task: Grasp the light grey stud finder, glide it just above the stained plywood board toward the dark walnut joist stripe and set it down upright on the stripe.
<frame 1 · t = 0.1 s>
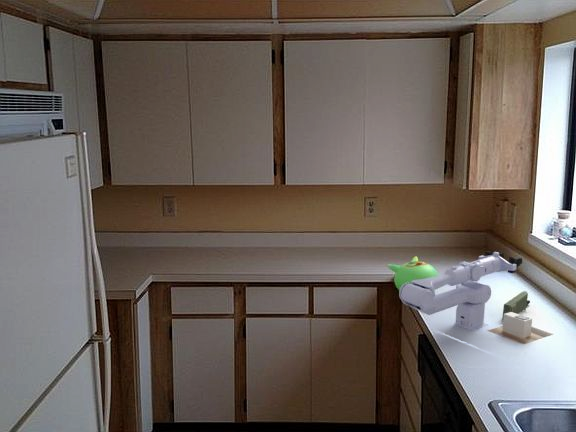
hand: (512, 258, 215), 22 cm above the worktop, tool horizontal, fingers open, 7 cm apart
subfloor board: (519, 334, 201), on the worktop
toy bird: (414, 295, 242), on the worktop
stud finder: (516, 333, 199), point 1 cm above the worktop, touching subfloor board
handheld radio: (517, 313, 222), on the worktop
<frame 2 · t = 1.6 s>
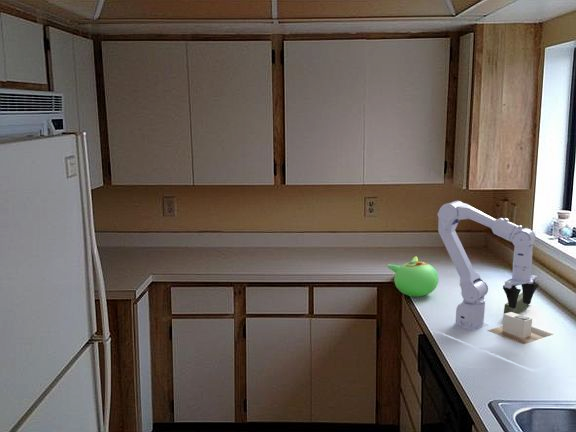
hand: (519, 305, 198), 10 cm above the worktop, tool pointing down, fingers open, 7 cm apart
nothing on the worktop moved.
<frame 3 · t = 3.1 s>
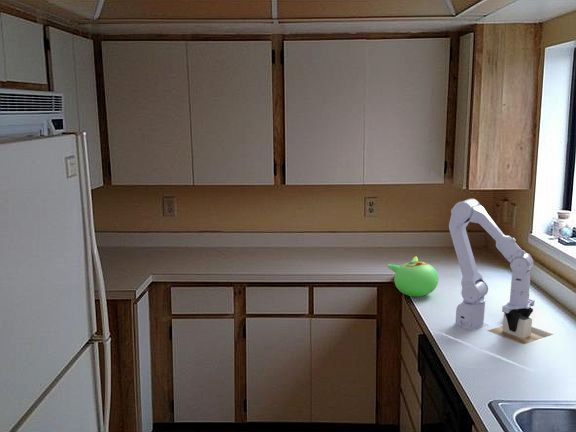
hand: (516, 329, 199), 2 cm above the worktop, tool pointing down, fingers closed on stud finder, 4 cm apart
stud finder: (516, 333, 199), point 1 cm above the worktop, touching gripper, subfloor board
everything else where it was.
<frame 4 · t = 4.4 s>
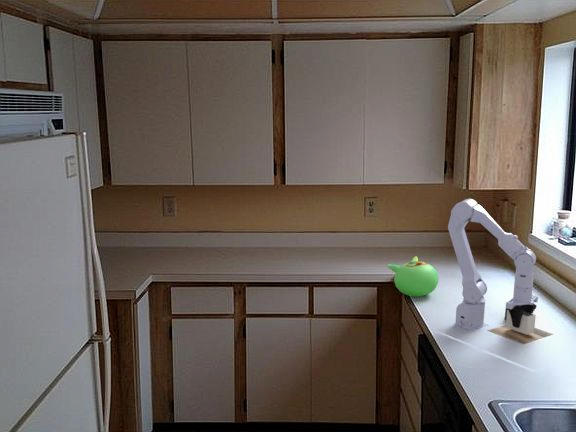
hand: (520, 325, 200), 3 cm above the worktop, tool pointing down, fingers closed on stud finder, 4 cm apart
stud finder: (519, 329, 200), point 2 cm above the worktop, touching gripper
everything else where it was.
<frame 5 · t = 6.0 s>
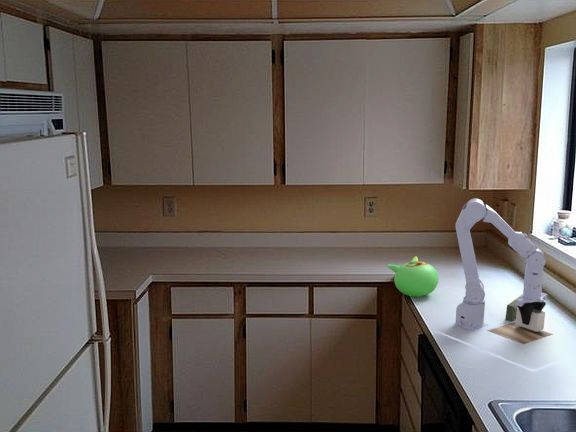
hand: (529, 322, 203), 3 cm above the worktop, tool pointing down, fingers closed on stud finder, 4 cm apart
stud finder: (529, 326, 203), point 2 cm above the worktop, touching gripper
when the fingers open (2 cm above the worktop, at t = 6.7 s): stud finder stays where it is, resting on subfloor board.
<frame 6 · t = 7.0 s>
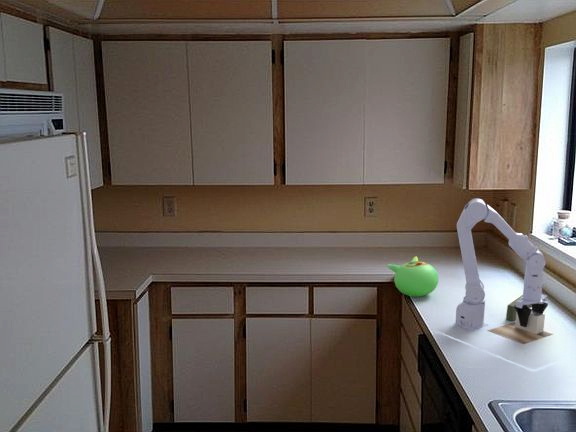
hand: (529, 324, 203), 2 cm above the worktop, tool pointing down, fingers open, 6 cm apart
stud finder: (529, 329, 203), point 1 cm above the worktop, touching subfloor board
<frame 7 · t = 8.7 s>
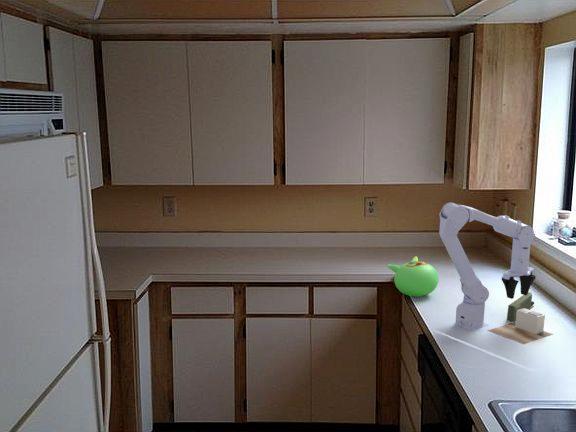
hand: (517, 296, 208), 10 cm above the worktop, tool pointing down, fingers open, 7 cm apart
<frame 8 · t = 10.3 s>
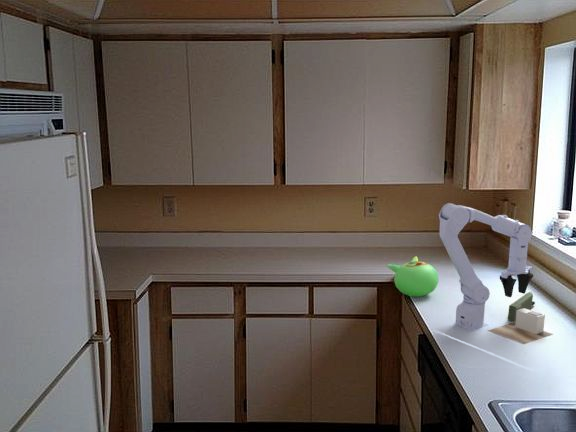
hand: (515, 294, 209), 10 cm above the worktop, tool pointing down, fingers open, 7 cm apart
at the end: stud finder 0.0 cm from the target spot, point 0.6 cm above the worktop; stud finder tilted 0°; the gripper is holding nothing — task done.
